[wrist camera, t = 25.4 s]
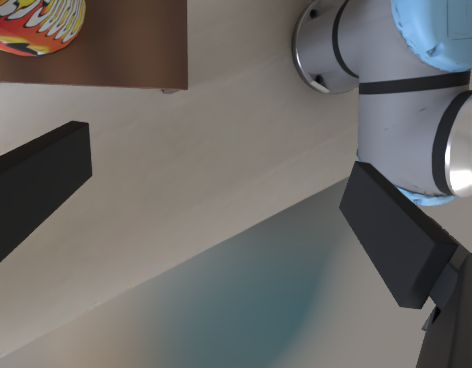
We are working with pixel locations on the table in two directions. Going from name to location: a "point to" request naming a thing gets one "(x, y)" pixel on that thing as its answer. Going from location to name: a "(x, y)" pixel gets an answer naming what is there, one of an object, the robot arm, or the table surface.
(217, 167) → the table surface
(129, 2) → the cubby
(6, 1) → the beverage can
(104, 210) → the table surface
